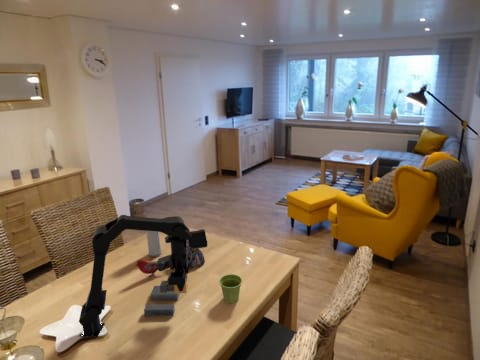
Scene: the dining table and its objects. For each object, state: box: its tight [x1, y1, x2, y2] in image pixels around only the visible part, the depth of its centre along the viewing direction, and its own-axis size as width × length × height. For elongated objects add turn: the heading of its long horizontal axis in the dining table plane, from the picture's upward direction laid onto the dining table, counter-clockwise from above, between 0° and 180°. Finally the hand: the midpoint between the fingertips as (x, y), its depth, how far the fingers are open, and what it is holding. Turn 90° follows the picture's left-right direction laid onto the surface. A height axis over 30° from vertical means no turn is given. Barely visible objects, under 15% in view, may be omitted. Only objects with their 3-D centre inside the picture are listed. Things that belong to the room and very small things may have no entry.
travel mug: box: [146, 231, 162, 258], centre depth 172 cm, size 6×7×20 cm
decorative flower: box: [186, 240, 205, 269], centre depth 164 cm, size 15×12×15 cm
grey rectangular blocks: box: [143, 285, 181, 317], centre depth 136 cm, size 16×11×3 cm
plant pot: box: [218, 273, 243, 304], centre depth 136 cm, size 9×9×9 cm
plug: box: [159, 274, 189, 294], centre depth 128 cm, size 4×10×6 cm, turn 91°
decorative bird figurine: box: [134, 259, 158, 278], centre depth 155 cm, size 3×18×10 cm, turn 123°
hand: (181, 287), depth 128 cm, fingers closed on plug, 4 cm apart
